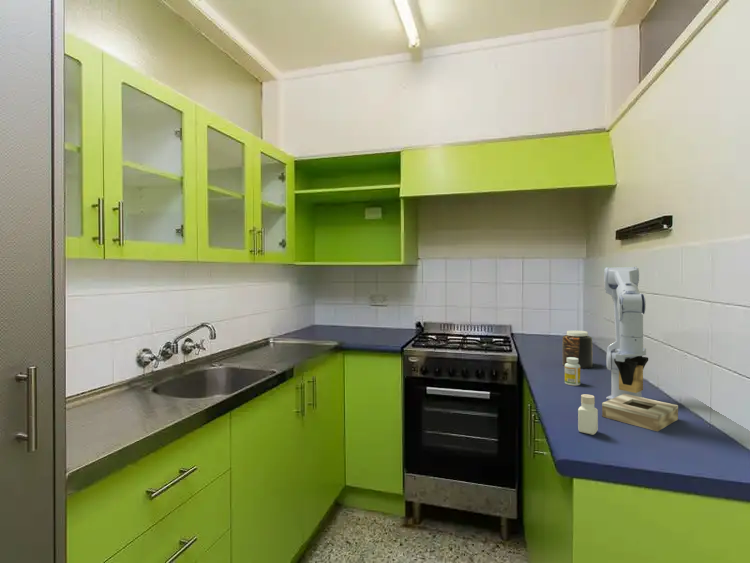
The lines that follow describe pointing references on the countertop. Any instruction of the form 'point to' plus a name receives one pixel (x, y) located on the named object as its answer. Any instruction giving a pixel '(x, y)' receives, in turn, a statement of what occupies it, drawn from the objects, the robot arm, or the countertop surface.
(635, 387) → the ochre peg
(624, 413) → the posting box
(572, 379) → the supplement bottle
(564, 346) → the jar
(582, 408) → the pepper shaker
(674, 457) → the countertop surface
